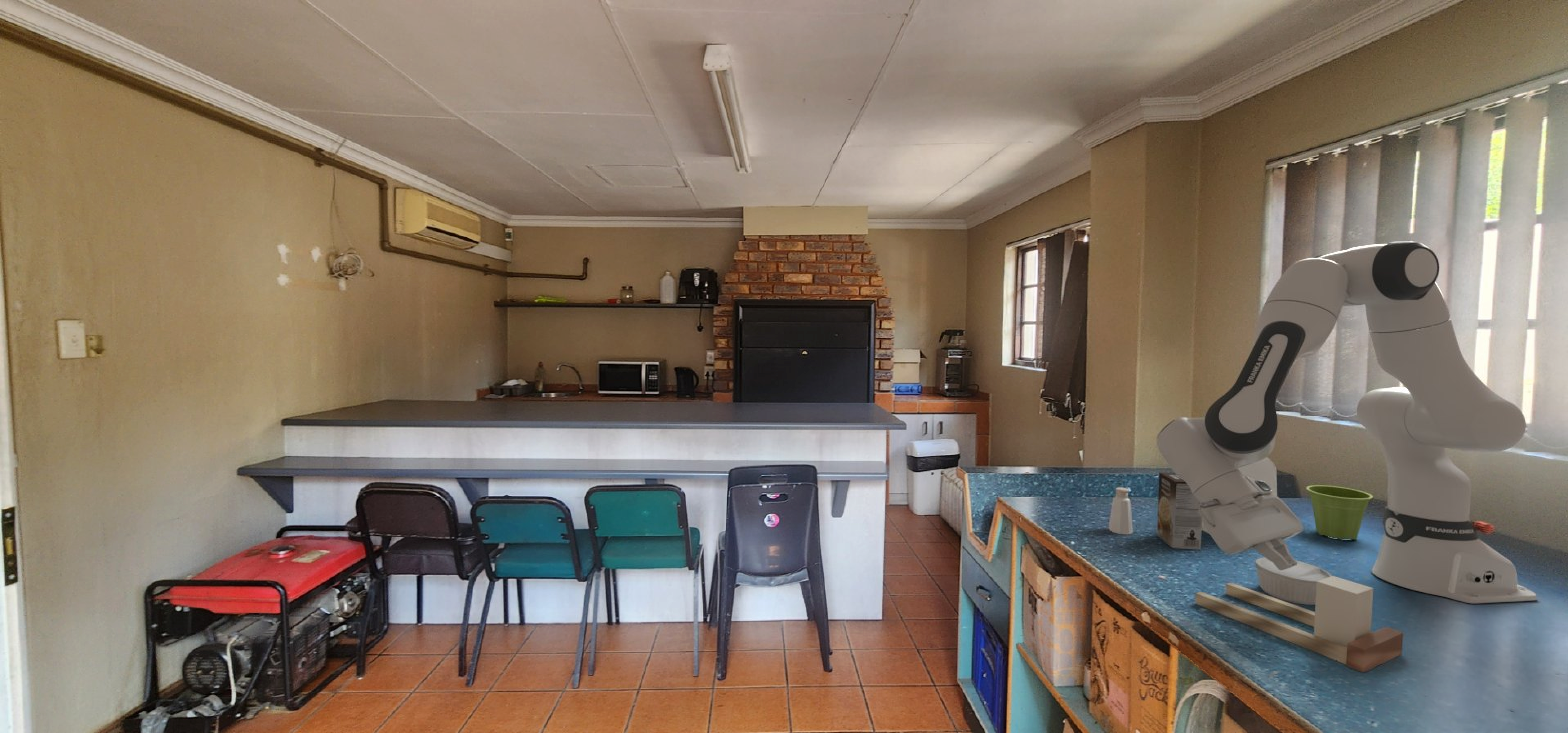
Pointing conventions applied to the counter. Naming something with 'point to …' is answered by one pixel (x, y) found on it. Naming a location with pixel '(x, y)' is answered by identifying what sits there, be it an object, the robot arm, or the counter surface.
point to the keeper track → (1355, 655)
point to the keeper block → (1342, 610)
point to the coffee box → (1178, 513)
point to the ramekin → (1290, 581)
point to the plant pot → (1338, 510)
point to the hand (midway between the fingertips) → (1289, 567)
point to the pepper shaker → (1121, 513)
